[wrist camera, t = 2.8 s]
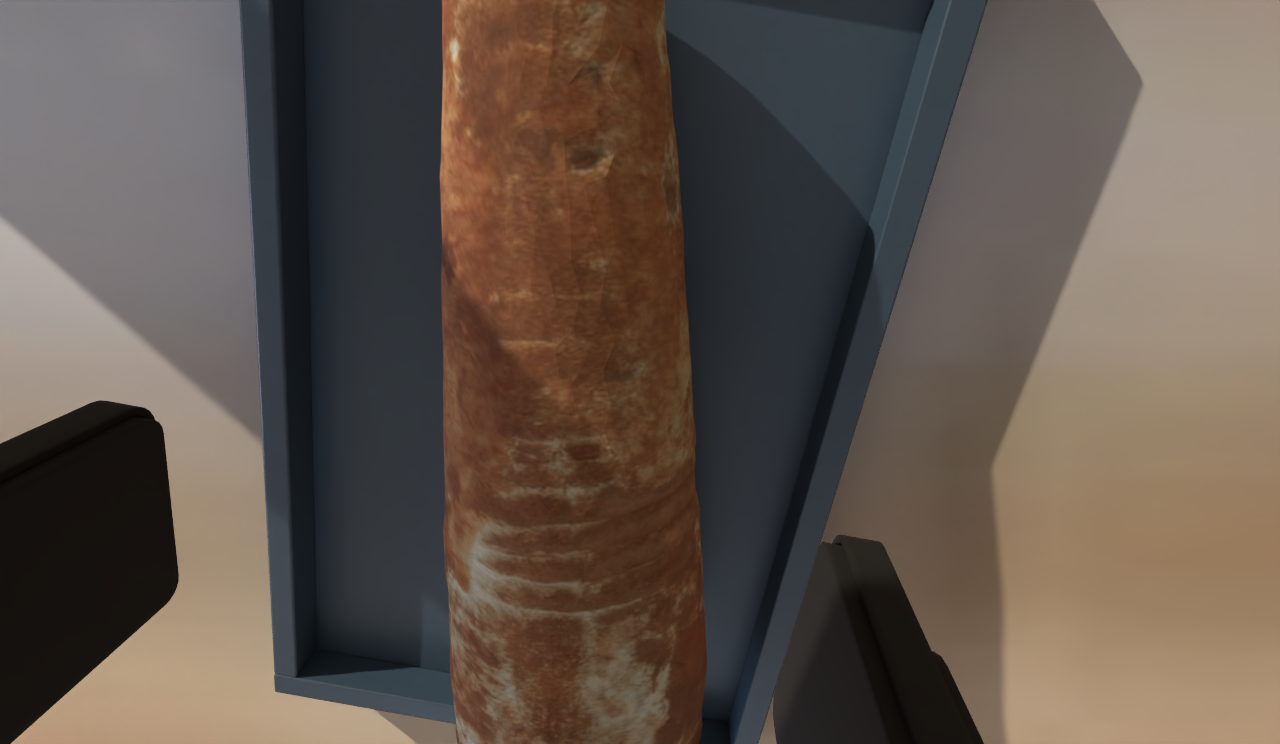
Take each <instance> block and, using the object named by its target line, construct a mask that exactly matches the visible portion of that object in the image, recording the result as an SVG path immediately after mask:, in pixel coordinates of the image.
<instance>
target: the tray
mask: <svg viewBox="0 0 1280 744" xmlns="http://www.w3.org/2000/svg"><path fill="white" fill-rule="evenodd" d="M987 1H988V0H665V21H666V43H667V54H668V60H669V66H670V73H671V96H672V111H673V123H674V128H675V134H676V141H677V150H678V160H679V175H680V192H681V206H682V220H683V233H684V267H685V286H686V300H687V310H688V323H689V344H690V356H691V370H692V395H693V415H694V422H695V428H696V445H695V449H694V451H695V456H696V459H695V469H694V471H695V489H696V493H697V496H698V501H699V507H700V529H701V552H702V561H703V599H704V609H705V631H706V651H707V671H706V681H705V688H704V697H703V706H702V724H703V725H702V729H701V737H700V740H699V743H698V744H758V743H759V740H760V736H761V733H762V730H763V727H764V723H765V720H766V717H767V714H768V710H769V707H770V704H771V701H772V697H773V694H774V691H775V688H776V684H777V681H778V678H779V675H780V671H781V668H782V665H783V662H784V659H785V655H786V652H787V649H788V646H789V642H790V639H791V636H792V633H793V629H794V626H795V623H796V620H797V616H798V613H799V610H800V607H801V603H802V600H803V597H804V594H805V590H806V587H807V584H808V580H809V577H810V574H811V571H812V567H813V564H814V561H815V557H816V554H817V551H818V548H819V545H820V542H821V539H822V535H823V532H824V529H825V526H826V522H827V519H828V516H829V513H830V509H831V506H832V503H833V500H834V497H835V493H836V490H837V487H838V484H839V480H840V477H841V474H842V471H843V467H844V464H845V461H846V458H847V454H848V451H849V448H850V445H851V441H852V438H853V435H854V432H855V428H856V425H857V422H858V419H859V416H860V412H861V409H862V406H863V403H864V399H865V396H866V393H867V390H868V386H869V383H870V380H871V377H872V373H873V370H874V367H875V364H876V360H877V357H878V354H879V351H880V347H881V344H882V341H883V338H884V334H885V331H886V328H887V325H888V322H889V318H890V315H891V312H892V309H893V305H894V302H895V299H896V296H897V292H898V289H899V286H900V283H901V279H902V276H903V273H904V270H905V266H906V263H907V260H908V257H909V253H910V250H911V247H912V244H913V241H914V237H915V234H916V231H917V228H918V224H919V221H920V218H921V215H922V211H923V208H924V205H925V202H926V198H927V195H928V192H929V189H930V185H931V182H932V179H933V176H934V172H935V169H936V166H937V163H938V160H939V156H940V153H941V150H942V147H943V143H944V140H945V137H946V134H947V130H948V127H949V124H950V121H951V117H952V114H953V111H954V108H955V104H956V101H957V98H958V95H959V91H960V88H961V85H962V82H963V79H964V75H965V72H966V69H967V66H968V62H969V59H970V56H971V53H972V49H973V46H974V43H975V40H976V36H977V33H978V30H979V27H980V23H981V20H982V17H983V14H984V10H985V7H986V4H987ZM239 2H240V21H241V40H242V59H243V78H244V97H245V116H246V135H247V155H248V174H249V193H250V212H251V231H252V250H253V269H254V288H255V308H256V327H257V346H258V365H259V384H260V403H261V422H262V441H263V461H264V480H265V499H266V518H267V537H268V556H269V575H270V594H271V614H272V633H273V652H274V671H275V675H274V680H275V691H276V692H280V693H286V694H291V695H297V696H302V697H308V698H314V699H319V700H325V701H330V702H336V703H342V704H347V705H353V706H358V707H364V708H370V709H375V710H381V711H387V712H392V713H398V714H403V715H409V716H415V717H420V718H426V719H431V720H437V721H443V722H448V723H454V724H456V718H455V712H454V700H453V693H452V688H451V676H450V636H449V591H448V585H447V580H446V573H445V553H444V535H443V526H444V516H445V470H444V438H443V334H442V298H441V269H442V259H441V256H442V225H441V192H440V167H441V128H442V90H443V53H442V0H239Z"/></svg>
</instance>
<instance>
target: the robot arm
mask: <svg viewBox="0 0 1280 744" xmlns="http://www.w3.org/2000/svg"><path fill="white" fill-rule="evenodd" d="M178 576H179V575H178V565H177V556H176V546H175V537H174V527H173V518H172V508H171V499H170V489H169V480H168V470H167V461H166V451H165V442H164V433H163V429H162V426H161V425H160V423H159V422H157V421H155V419H154V416H153V415H152V413H151V412H150V411H149V410H147V409H145V408H142V407H137V406H131V405H126V404H120V403H115V402H109V401H96V402H92V403H90V404H88V405H85V406H83V407H81V408H79V409H76V410H74V411H72V412H70V413H68V414H65V415H63V416H61V417H59V418H56V419H54V420H52V421H50V422H48V423H45V424H43V425H41V426H39V427H37V428H34V429H32V430H30V431H28V432H25V433H23V434H21V435H19V436H17V437H14V438H12V439H10V440H8V441H5V442H3V443H1V444H0V744H11V743H12V742H13V741H14V740H15V739H16V738H17V737H18V736H19V735H21V734H22V733H23V732H24V731H25V730H26V729H27V728H28V727H30V726H31V725H32V724H33V723H34V722H35V721H36V720H37V719H38V718H40V717H41V716H42V715H43V714H44V713H45V712H46V711H47V710H49V709H50V708H51V707H52V706H53V705H54V704H55V703H56V702H57V701H59V700H60V699H61V698H62V697H63V696H64V695H65V694H66V693H68V692H69V691H70V690H71V689H72V688H73V687H74V686H75V685H76V684H78V683H79V682H80V681H81V680H82V679H83V678H84V677H85V676H87V675H88V674H89V673H90V672H91V671H92V670H93V669H94V668H95V667H97V666H98V665H99V664H100V663H101V662H102V661H103V660H104V659H106V658H107V657H108V656H109V655H110V654H111V653H112V652H113V651H114V650H116V649H117V648H118V647H119V646H120V645H121V644H122V643H123V642H124V641H126V640H127V639H128V638H129V637H130V636H131V635H132V634H133V633H135V632H136V631H137V630H138V629H139V628H140V627H141V626H142V625H143V624H145V623H146V622H147V621H148V620H149V619H150V618H151V617H152V616H154V615H155V614H156V613H157V612H158V611H159V610H160V609H161V608H162V607H164V606H165V605H166V604H167V603H168V601H169V600H170V599H171V597H172V596H173V594H174V592H175V590H176V588H177V584H178ZM773 718H774V726H775V733H776V741H777V744H984V743H983V741H982V739H981V736H980V734H979V732H978V730H977V728H976V726H975V724H974V722H973V719H972V717H971V715H970V713H969V711H968V709H967V707H966V705H965V702H964V700H963V698H962V696H961V694H960V692H959V690H958V688H957V685H956V683H955V681H954V679H953V677H952V675H951V673H950V671H949V668H948V666H947V665H946V663H945V662H944V660H943V659H942V657H941V656H940V655H938V654H937V653H935V652H932V651H931V649H930V646H929V644H928V642H927V640H926V638H925V635H924V633H923V631H922V629H921V627H920V624H919V622H918V620H917V618H916V616H915V613H914V611H913V609H912V607H911V605H910V602H909V600H908V598H907V596H906V594H905V591H904V589H903V587H902V585H901V583H900V580H899V578H898V576H897V574H896V572H895V569H894V567H893V565H892V563H891V561H890V558H889V556H888V554H887V552H886V550H885V547H884V546H883V544H882V543H880V542H878V541H872V540H867V539H861V538H856V537H850V536H845V535H838V536H836V538H835V539H834V541H833V543H832V544H830V543H824V542H823V543H821V545H820V546H819V549H818V551H817V554H816V557H815V561H814V564H813V567H812V571H811V574H810V577H809V580H808V584H807V587H806V590H805V594H804V597H803V600H802V603H801V607H800V610H799V613H798V616H797V620H796V623H795V626H794V630H793V633H792V636H791V639H790V643H789V646H788V649H787V653H786V656H785V659H784V662H783V666H782V669H781V672H780V675H779V679H778V682H777V685H776V689H775V694H774V702H773Z"/></svg>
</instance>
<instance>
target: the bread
mask: <svg viewBox="0 0 1280 744" xmlns="http://www.w3.org/2000/svg"><path fill="white" fill-rule="evenodd" d="M442 53H443V90H442V128H441V167H440V192H441V225H442V256H441V259H442V269H441V298H442V334H443V438H444V470H445V516H444V526H443V535H444V553H445V573H446V580H447V585H448V591H449V636H450V676H451V688H452V693H453V700H454V712H455V718H456V733H457V741H458V744H698V743H699V740H700V737H701V729H702V725H703V724H702V706H703V697H704V688H705V681H706V671H707V651H706V631H705V609H704V599H703V561H702V552H701V529H700V507H699V501H698V496H697V493H696V489H695V471H694V469H695V459H696V456H695V451H694V449H695V445H696V428H695V422H694V415H693V395H692V370H691V356H690V344H689V323H688V310H687V300H686V286H685V267H684V233H683V220H682V206H681V192H680V175H679V160H678V150H677V141H676V134H675V128H674V123H673V111H672V96H671V73H670V66H669V60H668V54H667V43H666V21H665V0H442Z"/></svg>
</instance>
